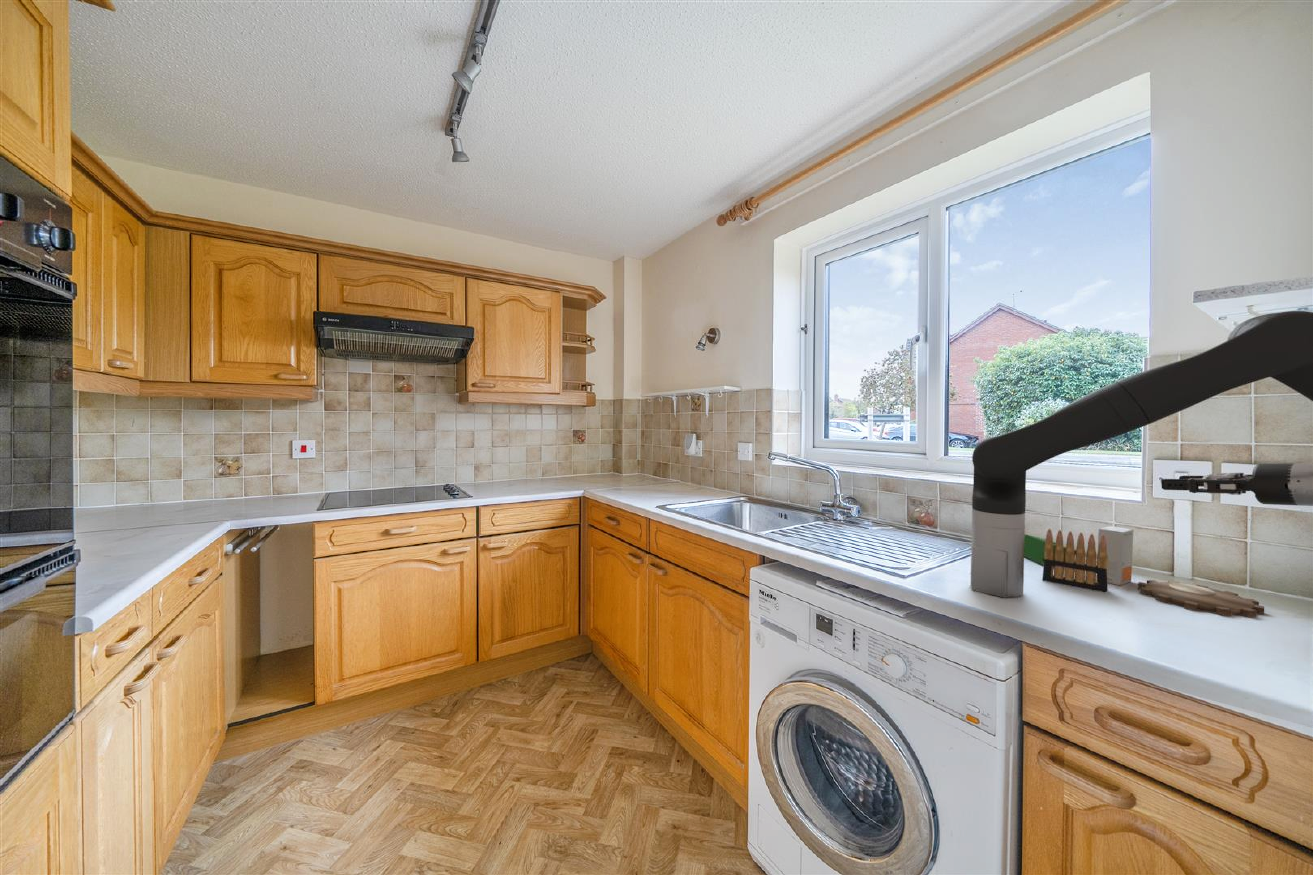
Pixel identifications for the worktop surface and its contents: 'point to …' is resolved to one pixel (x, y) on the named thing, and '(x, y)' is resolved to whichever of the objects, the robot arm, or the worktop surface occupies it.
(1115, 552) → the skincare box
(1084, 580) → the ammunition clip
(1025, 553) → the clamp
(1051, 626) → the worktop surface
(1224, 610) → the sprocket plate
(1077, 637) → the worktop surface
